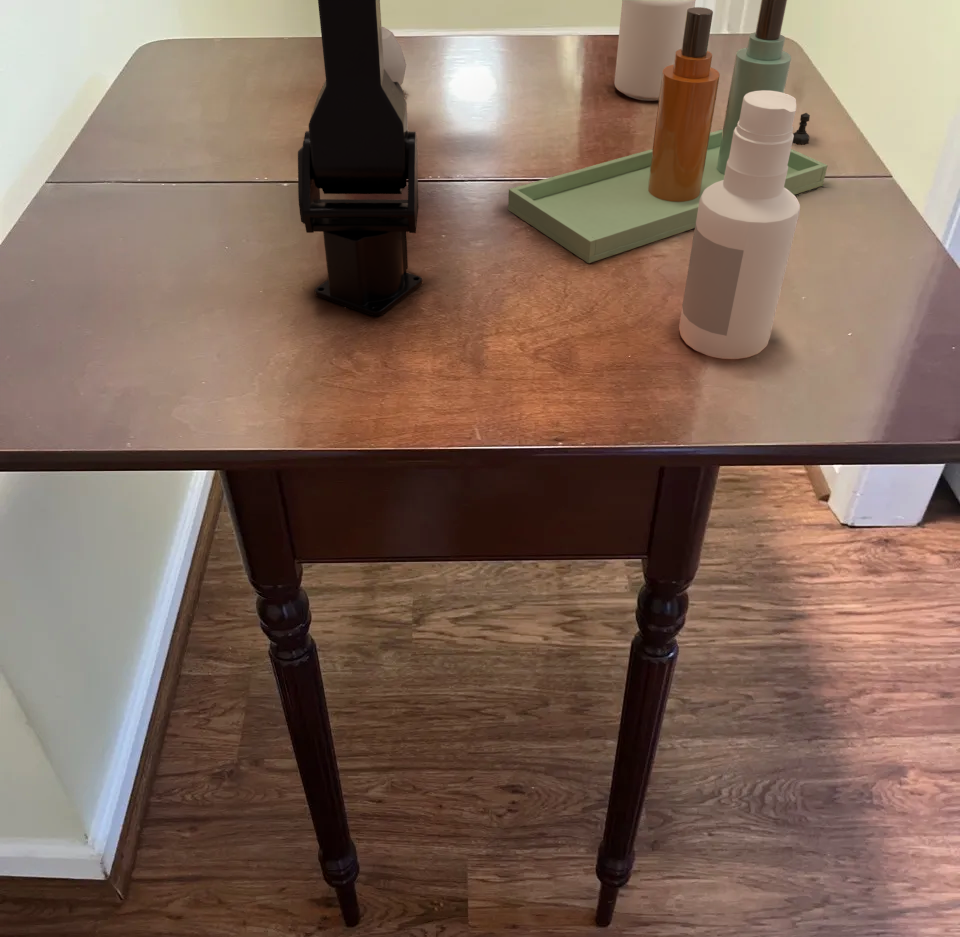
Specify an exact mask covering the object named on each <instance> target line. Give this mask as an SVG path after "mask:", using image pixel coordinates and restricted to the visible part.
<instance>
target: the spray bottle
mask: <svg viewBox="0 0 960 937" xmlns="http://www.w3.org/2000/svg"><path fill="white" fill-rule="evenodd" d="M797 108H798V107H797V100H796V97H795V96H793V95H791V94H788V93H786V92H784V93H782V92H777V91H768V90H761V91H753V92H749V93H747V94H746V95H745V96H744V98H743V102H742V108H741V113H740V119H739V121H738V123H737V127H735V129H734V132H733V138H732V143H731V149H730V155H729V159H728V161H727V164H726V170H725V175H724V180H722V181H719V182H716V183H714V184H712V185H711V186H709V187H707V188H706V189H705V190H704V191H703V193H702V195H701V197H700V200H699V206H698V212H697V219H696V225H695V228H694V230H693V238H692V244H691V250H690V257H689V263H688V269H687V274H686V280H685V286H684V292H683V299H682V304H681V311H680V318H679V323H678V328H679V335H680V337H681V339H682V341H684V343H685V344H686V345H687V346H688V347H689V348H691V349H693V350H694V351H695V352H698V353H700V354H703V355H706V356H708V357H711V358H712V357H713V358H717V359H722V360H725V359H726V360H740V359H746V358H747V359H748V358H750V357H753V356H756V355H758V354H760V353H761V352H762V351H764V349H765V348H766V347H767V346H768V344H769V340H770V338H771V334H772V331H773V330H772V329H773V325H774V321H775V318H776V313H777V308H778V305H779V300H780V296H781V292H782V288H783V284H784V279H785V275H786V271H787V266H788V262H789V258H790V254H791V249H792V246H793V241H794V237H795V232H796V229H797V225H798V220H799V216H800V211H801V203H800V202H799V200H798V198H797V197H796V195H793V194H792V193H791V192H790V191H789V190H787V189H786V188H784V184H785V180H786V175H787V171H788V160H789V156H790V151H791V149H792V146H793V143H792V142H793V138H794V135H793V134H794V133H793V132H794V126H793V125H794V120H795V116H796V112H797Z"/></svg>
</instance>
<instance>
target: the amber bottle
mask: <svg viewBox="0 0 960 937" xmlns="http://www.w3.org/2000/svg"><path fill="white" fill-rule="evenodd" d="M713 15H714V10H713V9H710V8H707V7H702V6H701V7H700V6H695V7H694V8H689V9H688V10H687V14H686V21H685V28H684V35H683V43H682V49H679V50H677V51H676V52H675V59H674V64H673V65H670V66H667V67H665V68H664V69H663V71H662V79H661V87H660V95H659V100H658V103H657V104H658V105H657V112H656V119H655V120H656V121H655V129H654V135H653V136H654V137H653V144H652V149H653V151H652V158H651V166H650V174H649V182H648V191H649V193H650V194H651V195H653V196H655V197H657V198H659V199H662V200H666V201H673V202H684V201H690V200H693V199H695V198H697V197H698V196H699V195H700V192H701V186H702V180H703V174H704V168H705V162H706V156H707V150H708V144H709V138H710V133H711V132H712V131H711V130H712V124H713V120H714V113H715V107H716V102H717V101H716V100H717V94H718V89H719V84H720V75H721V73H720V72H719V71H718V70H717V69H716V68H714V67H712V62H713V60H712V59H713V53H712V52H711V51H709V50H708V49H709V41H710V37H711V36H710V35H711V29H712V22H713Z"/></svg>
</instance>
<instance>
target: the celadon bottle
mask: <svg viewBox="0 0 960 937" xmlns="http://www.w3.org/2000/svg"><path fill="white" fill-rule="evenodd" d="M760 1H761V2H760V6H759V12H758V17H757V22H756V27H755V32H751V33H749V35H748V41H747V46H746V47H743V48H740V49H737V51H736V52H735V57H734V63H733V68H732V75H731V81H730V86H729V92H728V98H727V103H726V110H725V115H724V121H723V126H722V129H723V132H722V138H721V144H720V149H719V155H718V161H717V170H718V171H719V172H720V173H721V174H723V175H725V170H726V164H727V161H728V159H729V155H730V149H731V143H732V138H733V132H734V129H735V127H737V123H738V121H739V119H740V113H741V108H742V102H743V98H744V96H745V95H746V94H747V93H749V92H753V91H761V90H768V91H777V92H782V93H786V92H785V91H786V86H787V82H788V77H789V72H790V67H791V63H792V55H791V54H790V53H789V52H788V51H785V50H784V46H785V42H786V37H785V35H783V34H782V29H783V28H782V27H783V23H784V19H785V12H786V9H787V4H788V0H760Z"/></svg>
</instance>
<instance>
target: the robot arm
mask: <svg viewBox="0 0 960 937" xmlns="http://www.w3.org/2000/svg"><path fill="white" fill-rule="evenodd" d="M317 4H318V5H317V6H318V15H319V25H320V35H321V46H322V55H323V66H324V75H325V81H324V83H323V85H322V87H321V89H320V91H319V93H318V95H317V97H316V100H315V102H314V106H313V110H312V112H311V115H310V120H309V122H308V130H305V132H304V137H303V142H302V146H301V147H300V149H298V151H297V193H298V194H297V195H298V208H299V217H300V222H301V223H302V224H304V228H305V231H306V234H313V233H316V232H322V235H323V242H324V244H323V245H324V253H325V262H326V271H327V280H326V281H324V282H322V283H321V284H320V285H318V286H316V287H315V288H314V294H315V296H316V297H318V298H320V299H324V300H326V301H329V302H332V303H334V304H337V305H341V306H343V307H346V308H349V309H352V310H355V311H358V312H361V313H363V314H366V315H369V316H372V317H380V316H382V315H383V314H385V313H386V312H388V311H389V310H390V309H391V308H393V307H394V306H395V305H397V304H398V303H399V302H401V301H402V300H404V298H406V297H407V296H408V295H410V294H411V293H413V292H414V291H415V290H417V289H418V288H419V287H421V286H422V285H423V277H422V276H420V275H417V274H414V273H410V272H407V270H408V269H409V263H408V261H409V260H408V243H407V241H408V240H407V233H409V234H417V229H418V228H417V227H418V217H419V216H418V215H419V164H418V162H419V161H418V160H419V159H418V157H419V156H418V136H417V131H415V130H414V131H411V130H410V131H409V120H408V105H407V104H408V103H407V100H406V98H405V92H404V90H403V89H402V88H403V87H402V85H401V86H400V84H399V83H398V82H393V81H392V79H391V78H390V76H389V75H388V74H387V72H386V71H385V69H384V60H383V44H382V27H383V26H382V12H381V0H317ZM406 187H407V199H395V198H394V199H392V198H391V199H388V198H387V199H385V198H384V199H382V198H381V199H379V198H378V199H372V198H371V199H369V198H368V199H367V198H363V199H361V198H359V199H357V198H356V199H355V198H354V199H351V198H350V199H347V198H346V199H345V198H344V199H343V198H339V199H338V198H331V199H330V198H323V199H321V190H322V193H323V194H324V195H402V194H403V190H404V189H405V188H406ZM320 189H321V190H320Z"/></svg>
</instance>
